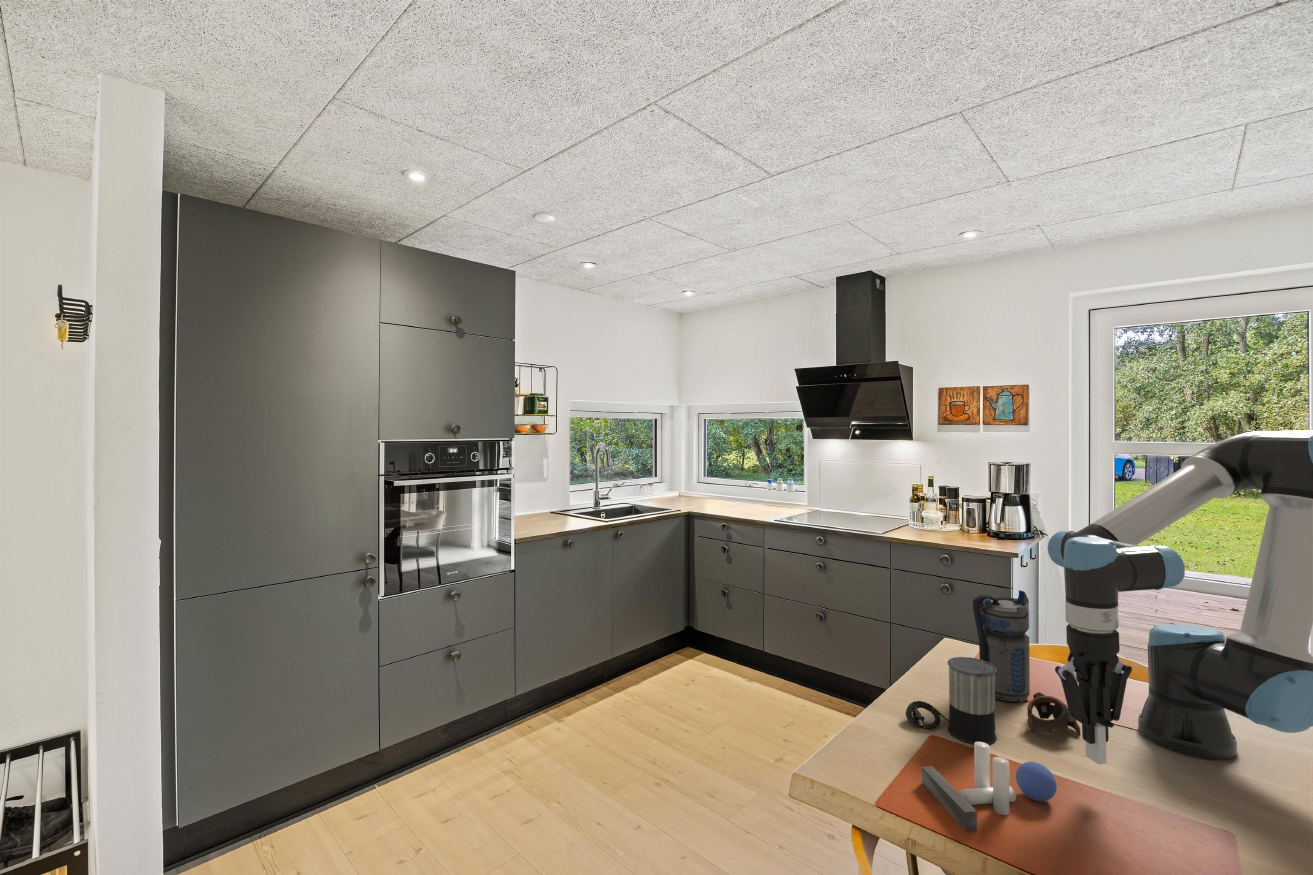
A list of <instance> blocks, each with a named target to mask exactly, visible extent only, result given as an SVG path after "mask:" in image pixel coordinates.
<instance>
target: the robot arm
mask: <svg viewBox="0 0 1313 875" xmlns="http://www.w3.org/2000/svg"><path fill="white" fill-rule="evenodd" d="M1180 466H1181V467H1180V469H1178V470H1177V471H1174V473H1172V474H1170V475H1168V476H1167V477H1165V478H1164V479H1162V480H1160V481H1158V482H1157V483H1155V484H1154V485H1152V486H1151V487H1149V488H1147V489H1145V490H1144V491H1142V492H1141V493H1139V494H1138V495H1135V496H1134V497H1133V498H1131V499H1130V500H1128V501H1126V502H1124V503H1122V504H1121V505H1120V506H1118V507H1116V508H1114V509H1113V510H1112V511H1109V512H1108V513H1106V514H1104V515H1103V516H1101V517H1099V518H1098V519H1096V520H1095V521H1094V522H1091V523H1090V524H1088V525H1086V526H1085V527H1083V528H1081V529H1080V530H1078V531H1075V530H1074V531H1073V530H1062V531H1057V532H1056V533H1054V534H1053V535H1052V536H1051V537H1050V538H1049V541H1048V544H1047V552H1048V553H1047V554H1048V556H1049V558H1050V560H1051V561H1052V562H1053V563H1054V564H1056V566H1057V565H1058V566H1059V567H1061V568H1063V574H1064V590H1065V591H1064V592H1065V602H1064V603H1065V622H1067V625H1066V628H1065V630H1066V631H1065V632H1066V644H1067V645H1066V646H1068V649H1069V654H1068V656H1067V663H1066V664H1064V665H1063V666H1059V665H1057V666H1055V668H1054V671H1055V673H1056V675H1057V676H1058V677H1059V679H1060V682H1061V686H1062V689H1063V693H1064V697H1065V701H1066V705H1067V706H1068V709H1069V713H1070V716H1071V717H1072V718H1074V719H1075V720H1076V722H1079V723H1081V734H1082V736H1081V737H1082V740H1083V741H1085V757H1086V758H1088V759H1089V760H1091V761H1093V762H1094V763H1096V764H1097V765H1106V764H1107V743H1109V742H1108V741H1109V740H1110V739H1109V728H1110V729H1112V728H1113V727H1115V723H1114V722H1113V721H1115V722H1118V721H1120V718H1121V713H1122V707H1123V704H1124V697H1125V692H1126V687H1127V683H1128V678H1129V677H1130V675H1131V673H1132V671H1133V667H1132V666H1130V665H1128V664H1126V663H1123V662H1121V661H1120V660H1119V659H1120V658H1119V656H1118V654H1119V652H1120V647H1121V646H1120V632H1118V630H1117V629H1119V627H1120V626H1119V624H1120V623H1119V593H1124V592H1135V591H1150V590H1151V591H1154V590H1156V591H1160V590H1162V589H1168V588H1172V587H1173V588H1174V587H1176V586H1179V584H1181V583H1182V582H1183V580H1184V577H1185V574H1186V569H1185V563H1184V561H1183V558H1182V557H1181V555H1180V554H1179V553H1178V552H1177V551H1176V550H1174V549H1173V548H1171V547H1169V546H1166V545H1160V544H1159V545H1154V544H1147V545H1140V544H1142V543H1143V542H1144V541H1146V540H1148V539H1150V538H1152V537H1153V536H1155V535H1156V534H1158V533H1159V532H1161V531H1162V530H1165V529H1166V528H1167V527H1169V526H1171V525H1172V524H1174V523H1175V522H1177V521H1179V520H1181V519H1183V518H1184V517H1185V516H1187V515H1189V514H1190V513H1192V512H1193V511H1195V510H1197V509H1198V508H1200V507H1202V506H1204V505H1205V504H1206V503H1208V502H1210V501H1212V500H1213V499H1225V498H1227V497H1229V496H1231V495H1232V494H1235V493H1237V492H1240V491H1247V490H1261V492H1260V498H1262V500H1263V501H1264V502H1265V503H1266V504H1267V505H1268V512H1267V515H1266V520H1265V524H1264V529H1263V531H1262V532H1263V533H1262V536H1261V540H1260V541H1261V542H1260V545H1259V549H1258V554H1257V557H1256V562H1255V566H1254V569H1253V574H1252V580H1251V583H1250V587H1249V591H1248V595H1247V600H1246V604H1245V609H1244V613H1243V617H1242V620H1241V625H1240V629H1239V630H1238V631H1236V632H1234V633H1233V632H1232V633H1230V634H1229V635H1227V636H1226V638H1225V635H1224V633H1223V632H1221V631H1220V630H1217V629H1214V628H1209V627H1204V626H1197V625H1190V624H1189V625H1185V624H1160V625H1155V626H1153V627H1152V628H1151V629H1150V630H1149V633H1148V643H1147V644H1146V645H1147V664H1148V665H1147V666H1148V667H1147V668H1148V673H1147V674H1148V696H1147V697H1146V700H1145V702H1144V705H1143V707H1142V710H1141V713H1139V714H1138V715H1139V716H1138V720H1137V723H1138V727H1137V729H1138V731H1139V732H1140V734H1141V735H1142V736H1143V737H1144V738H1146V739H1147V740H1148V741H1150V742H1152V743H1154V744H1155V745H1158V746H1160V747H1163V748H1166V749H1168V750H1170V751H1173V752H1176V753H1180V754H1182V755H1187V756H1190V757H1196V758H1199V759H1200V758H1201V759H1206V760H1207V759H1208V760H1209V759H1210V760H1228V759H1232V758H1234V757H1236V755H1238V754H1237V753H1238V740H1237V739H1236V736H1235V735H1234V734H1233V733H1232V728H1231V725H1230V722H1229V719H1228V716H1227V714H1226V710H1227V711H1230V712H1232V713H1234V714H1237V715H1239V716H1241V717H1243V718H1246V719H1248V720H1250V721H1252V723H1255V724H1257V725H1261V726H1264V727H1267V728H1270V729H1272V730H1275V731H1278V732H1281V733H1287V734H1296V733H1302V732H1305V731H1307V730H1309V729H1311V728H1312V727H1313V656H1312V654H1311V653H1310V652H1309V650H1308V645H1309V641H1310V637H1311V633H1312V628H1313V430H1255V431H1249V432H1248V431H1247V432H1244V433H1238V434H1236V435H1232V436H1231V437H1227V438H1225V439H1222V440H1221V441H1218V442H1215V443H1213V444H1211V445H1209V446H1207V447H1205V448H1203V449H1201V450H1199V451H1197V452H1196V453H1194V454H1193V455H1191V456H1189V457H1187V458H1186V459H1185V460H1184V461H1183V462H1182V463H1181V465H1180Z"/></svg>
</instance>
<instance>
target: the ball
mask: <svg viewBox="0 0 1313 875" xmlns="http://www.w3.org/2000/svg"><path fill="white" fill-rule="evenodd" d="M1015 781H1016V784H1017V786H1018V788H1019V790H1020V791H1021V792H1022V794H1024V795H1025V796H1026V797H1028V798H1029V799H1031V800H1034V801H1037V802H1047V801H1049V800H1051V799H1052V798H1053V797H1054V796H1055V795H1056V792H1057V788H1058V785H1057V780H1056V779H1055V776H1054V774H1053V772H1052V771H1051V770H1050V769H1049V768H1047V767H1046V766H1045V765H1043V764H1042V763H1039V762H1036V761H1026V762H1023V763H1021V764H1020V765H1019V766H1018V767H1017V769H1016V771H1015Z"/></svg>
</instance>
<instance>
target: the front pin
mask: <svg viewBox="0 0 1313 875" xmlns="http://www.w3.org/2000/svg"><path fill="white" fill-rule="evenodd" d="M960 795H961V796H962V797H963V798H964V799H965V800H966V801H967V802H968V803H969V804H970V805H971V806H973V805H974V806H975V805H987V804H993V786H990V787H983V788H975V787H974V788H973V787H971V788H962V789H961V790H960ZM1016 797H1017V796H1016V793H1015V790H1014V789H1013V788H1012V786H1011V785H1009V803H1013V802H1016Z"/></svg>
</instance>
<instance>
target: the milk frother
mask: <svg viewBox="0 0 1313 875" xmlns="http://www.w3.org/2000/svg"><path fill="white" fill-rule="evenodd" d="M946 663H947V665H948V689H949V690H948V693H949V698H948V700H949V702H948V703H949V706H948V707H949V708H948V709H949V713H948V718H946V716H944V715H943V714H942V712H940V711H939V710H938V709H937V708H936V707H935V706H933V705H932V704H931V703H928V702H925V701H922V700H915V701H913V702H911V703H909V704H908V705H907V707H906V709H905V717H906V719H907V722H909V723H910V724H911V725H912V726H914V727H915V728H918V729H921V730H927V731H932V730H936V729H937V728H939V727H940V725H941V722H942V719H941V718H943V719H944V721H947V723H948V725H947V731H948V733H949V734H950V735H951V736H953V738H956V739H958V740H959V741H962V742H965V743H968V744H973V745H974V743H975V742H984V743H986V744H988V745H991V744H995V742H996V741H997V739H998V737H997V734H996V714H995V713H996V709H995V708H996V698H995V673H996V671H997V669H996V668H995V667H994V666H993V665H992V664H990V663H988V662H986V661H983V660H980V658H974V657H971V656H970V657H969V656H968V657H967V656H966V657H965V656H956V657H951V658H949V659H948V660H947V662H946ZM919 709H925V710H926V711H928V712H929V713H931V714H932V715H933V717H934V721H932V722H931V723H924V720H925V716H923V715H922V714H921V712H920V710H919Z"/></svg>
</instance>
